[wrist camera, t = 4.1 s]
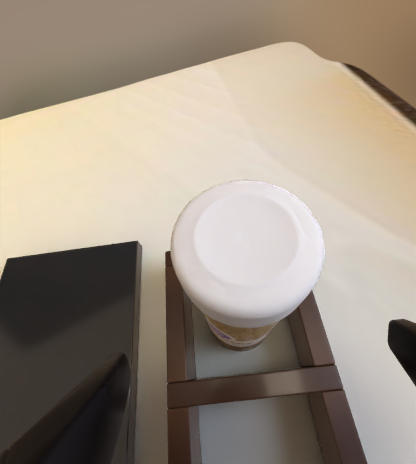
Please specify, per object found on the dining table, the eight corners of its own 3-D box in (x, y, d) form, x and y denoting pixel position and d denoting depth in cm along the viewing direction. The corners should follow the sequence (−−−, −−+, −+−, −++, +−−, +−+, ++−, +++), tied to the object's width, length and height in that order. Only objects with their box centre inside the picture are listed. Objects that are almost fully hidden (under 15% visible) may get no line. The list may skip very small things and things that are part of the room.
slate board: (129, 590, 13) (119, 609, 12) (-90, 608, 13) (-118, 628, 12) (142, 246, 23) (137, 240, 22) (17, 263, 23) (6, 258, 22)
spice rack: (381, 588, 12) (430, 663, 9) (186, 604, 12) (170, 680, 9) (286, 253, 21) (294, 233, 18) (175, 268, 21) (165, 251, 18)
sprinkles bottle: (199, 335, 18) (136, 276, 7) (222, 281, 20) (205, 160, 9) (258, 364, 17) (307, 350, 5) (277, 302, 19) (344, 195, 7)
